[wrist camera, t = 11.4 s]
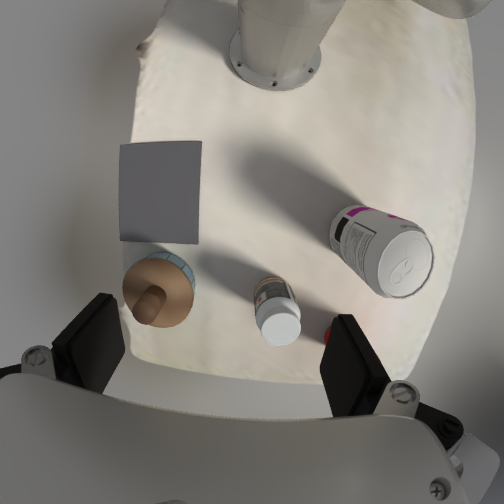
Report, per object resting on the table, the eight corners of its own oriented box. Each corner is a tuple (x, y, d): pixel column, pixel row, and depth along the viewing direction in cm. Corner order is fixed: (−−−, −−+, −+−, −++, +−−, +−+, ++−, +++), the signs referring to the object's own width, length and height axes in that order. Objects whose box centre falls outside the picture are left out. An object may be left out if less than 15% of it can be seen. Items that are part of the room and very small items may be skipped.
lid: (121, 255, 33) (101, 270, 28) (192, 259, 34) (181, 276, 28) (130, 320, 36) (114, 342, 31) (195, 326, 37) (187, 352, 31)
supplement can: (356, 192, 36) (415, 205, 21) (387, 233, 37) (448, 265, 23) (316, 231, 37) (355, 267, 23) (350, 270, 39) (397, 319, 24)
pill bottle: (246, 300, 40) (246, 338, 30) (266, 269, 39) (272, 300, 29) (279, 316, 41) (287, 356, 31) (299, 286, 39) (314, 320, 30)
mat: (121, 145, 33) (120, 144, 33) (201, 141, 33) (201, 141, 33) (121, 240, 37) (120, 240, 37) (198, 243, 37) (198, 244, 37)
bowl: (135, 250, 37) (124, 258, 34) (195, 253, 38) (189, 262, 34) (140, 305, 40) (131, 318, 36) (196, 311, 40) (191, 324, 36)
